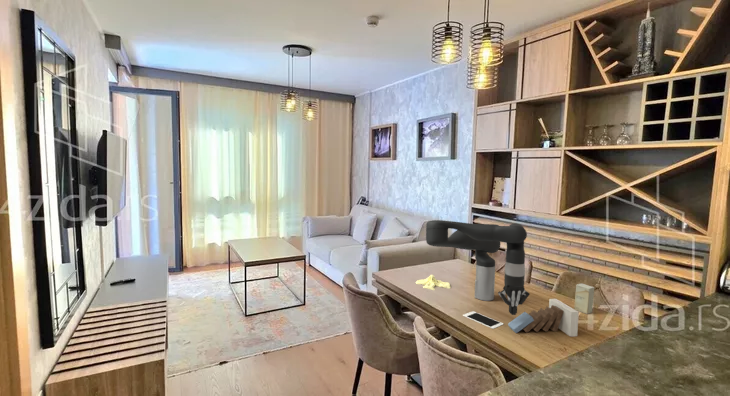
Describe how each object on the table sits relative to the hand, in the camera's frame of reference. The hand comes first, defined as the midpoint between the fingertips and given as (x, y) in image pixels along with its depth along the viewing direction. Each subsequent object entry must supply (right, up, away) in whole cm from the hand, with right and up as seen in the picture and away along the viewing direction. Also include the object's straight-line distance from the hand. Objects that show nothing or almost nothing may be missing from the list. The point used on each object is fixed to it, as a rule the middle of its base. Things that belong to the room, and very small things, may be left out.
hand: (512, 314), depth 143 cm
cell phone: (-9, -7, +11) cm, 15 cm away
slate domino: (0, -6, +1) cm, 6 cm away
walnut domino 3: (+13, -6, +2) cm, 14 cm away
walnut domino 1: (+4, -6, +1) cm, 8 cm away
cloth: (-22, -3, +58) cm, 63 cm away
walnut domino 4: (+17, -7, +2) cm, 18 cm away
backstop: (+22, -7, +3) cm, 23 cm away
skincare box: (+42, -6, +21) cm, 47 cm away
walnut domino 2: (+9, -6, +1) cm, 11 cm away
